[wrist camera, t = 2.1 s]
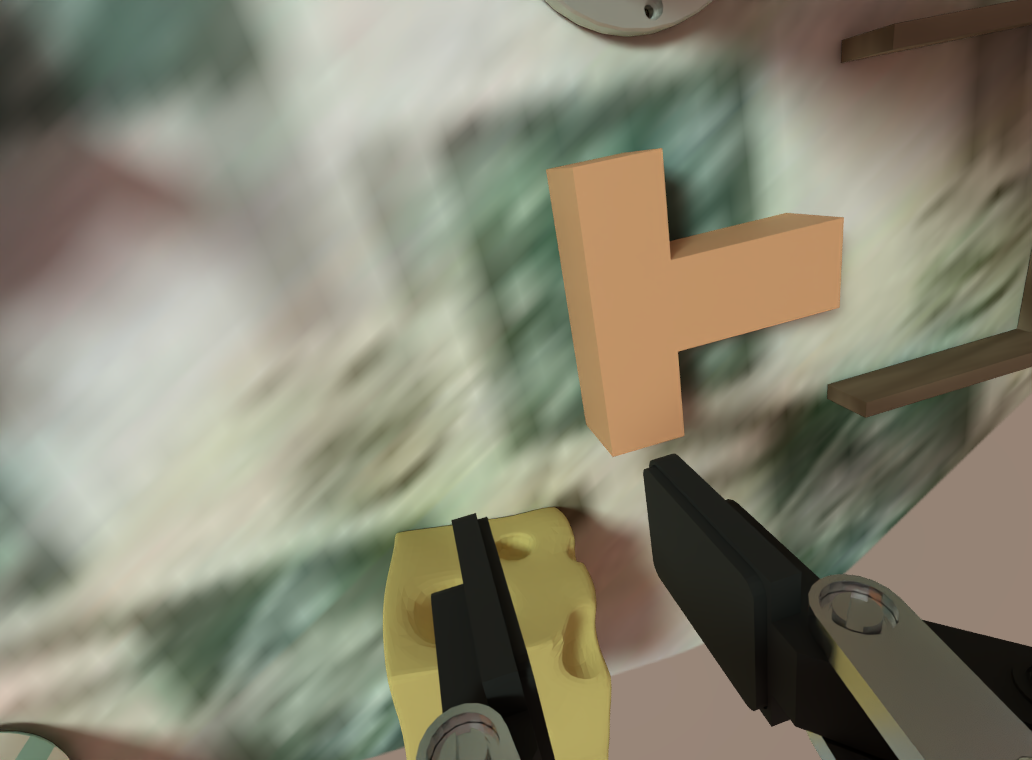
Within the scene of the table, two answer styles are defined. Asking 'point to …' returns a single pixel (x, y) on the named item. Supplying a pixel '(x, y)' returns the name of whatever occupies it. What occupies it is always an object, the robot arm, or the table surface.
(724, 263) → the t block
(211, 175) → the table surface
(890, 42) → the brown wooden rack
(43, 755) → the can
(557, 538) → the cheese
